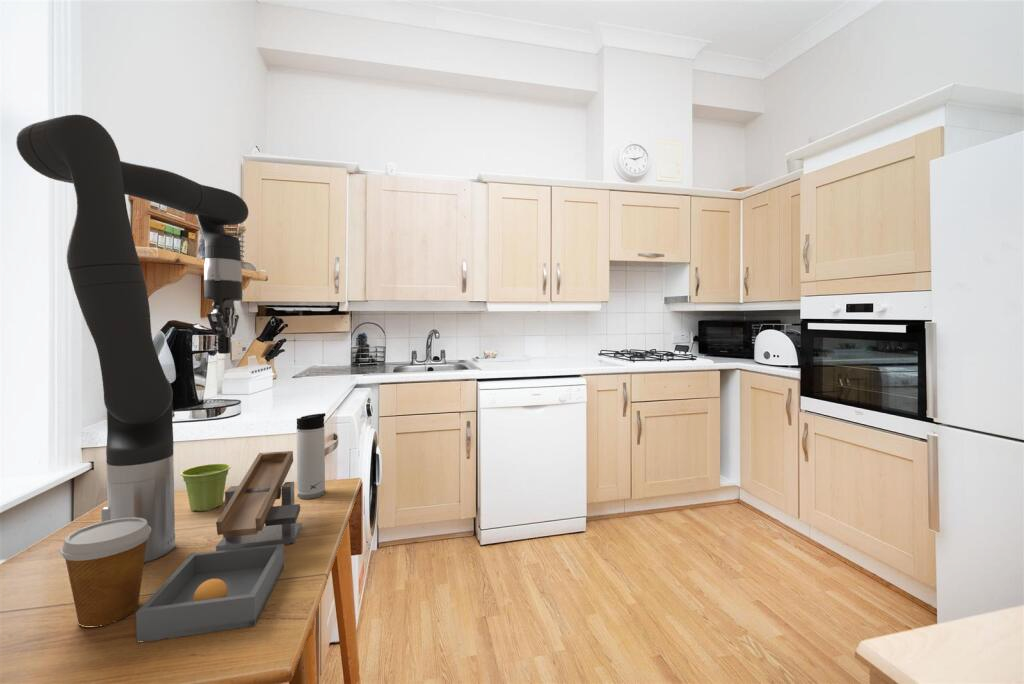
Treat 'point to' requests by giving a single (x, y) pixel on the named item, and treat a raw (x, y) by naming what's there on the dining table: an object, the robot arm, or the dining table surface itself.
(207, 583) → the ball
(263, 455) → the lever
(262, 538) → the stand
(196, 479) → the plant pot
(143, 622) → the bin
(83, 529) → the disposable coffee cup
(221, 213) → the robot arm
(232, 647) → the dining table surface
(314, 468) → the travel mug
